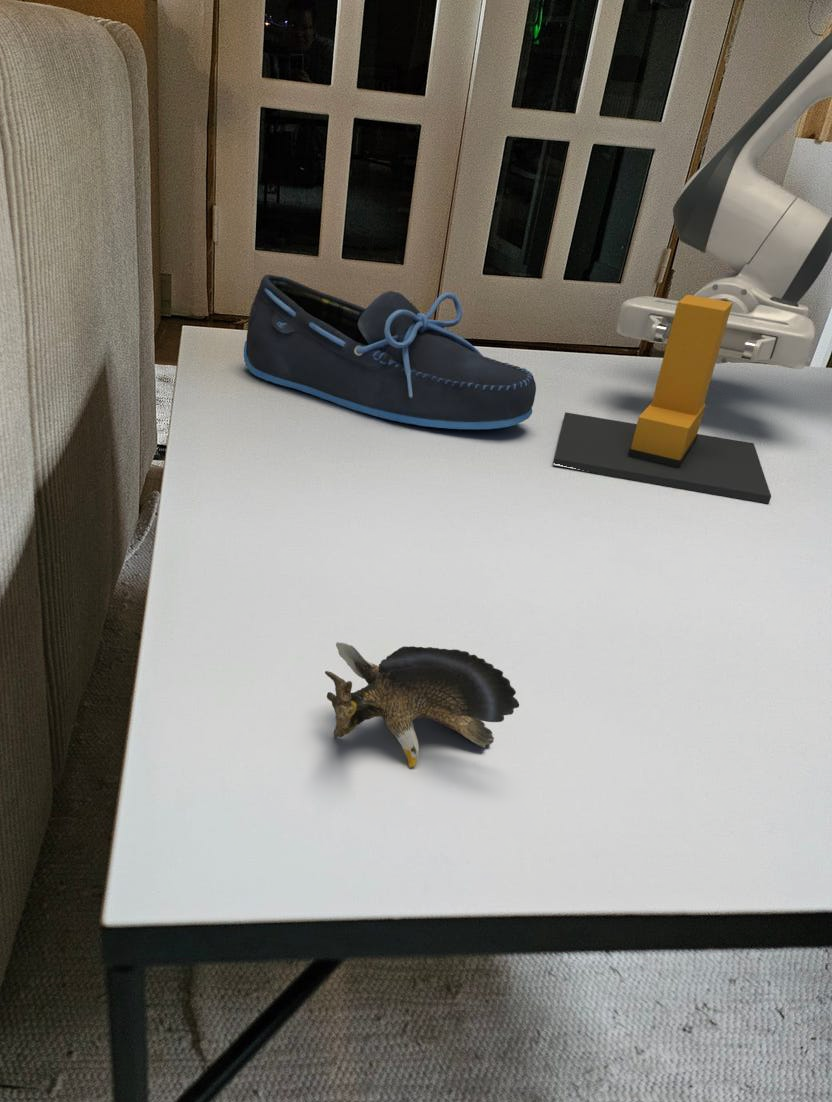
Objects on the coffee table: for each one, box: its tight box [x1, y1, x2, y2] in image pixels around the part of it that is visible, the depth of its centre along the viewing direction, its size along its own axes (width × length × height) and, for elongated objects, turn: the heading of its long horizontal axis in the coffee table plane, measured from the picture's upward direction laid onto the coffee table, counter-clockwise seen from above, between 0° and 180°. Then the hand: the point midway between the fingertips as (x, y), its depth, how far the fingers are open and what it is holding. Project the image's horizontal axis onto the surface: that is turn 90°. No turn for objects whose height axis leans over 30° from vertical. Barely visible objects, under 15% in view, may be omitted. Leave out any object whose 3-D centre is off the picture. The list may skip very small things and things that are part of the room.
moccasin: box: [243, 274, 537, 430], centre depth 100 cm, size 14×34×12 cm, turn 65°
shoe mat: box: [552, 411, 772, 505], centre depth 95 cm, size 20×16×1 cm
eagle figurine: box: [324, 641, 520, 768], centre depth 49 cm, size 8×7×9 cm
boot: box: [628, 294, 733, 468], centre depth 92 cm, size 10×5×14 cm, turn 153°
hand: (702, 343), depth 97 cm, fingers open, 8 cm apart
